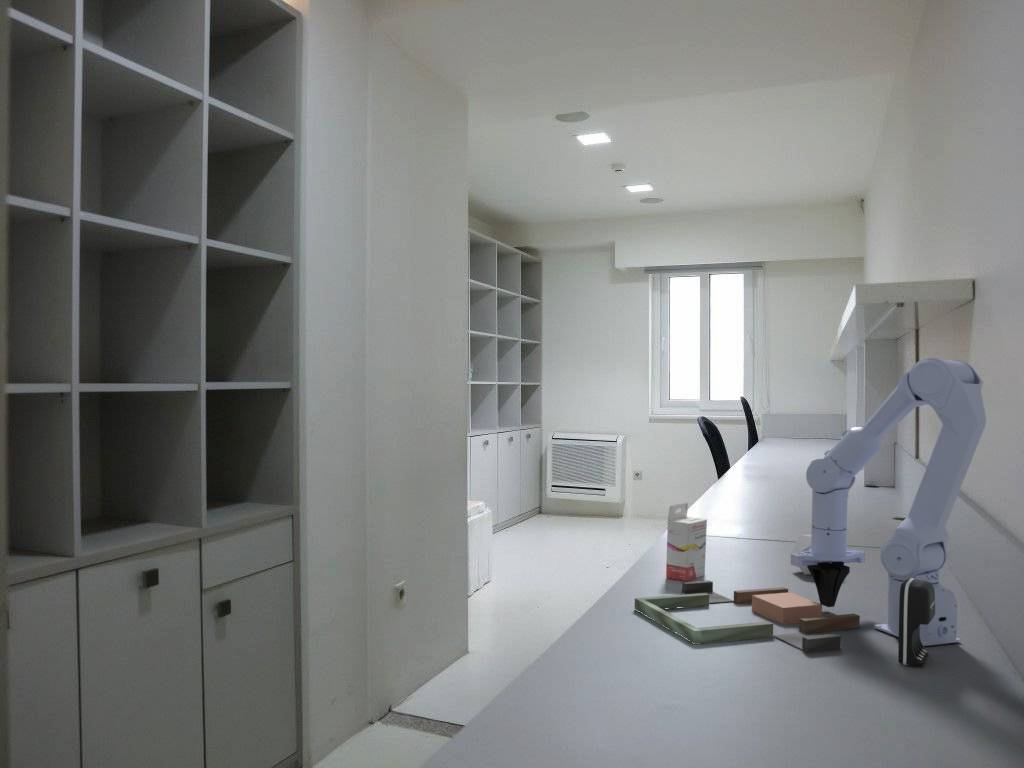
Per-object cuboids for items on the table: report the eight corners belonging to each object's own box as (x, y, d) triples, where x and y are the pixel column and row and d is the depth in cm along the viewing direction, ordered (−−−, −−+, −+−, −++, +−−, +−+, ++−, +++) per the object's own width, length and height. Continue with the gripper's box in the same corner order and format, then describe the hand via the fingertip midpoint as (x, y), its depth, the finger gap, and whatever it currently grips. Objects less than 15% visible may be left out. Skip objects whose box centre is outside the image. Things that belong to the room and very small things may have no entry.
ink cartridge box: (687, 582, 150) (689, 508, 151) (665, 578, 154) (667, 505, 154) (706, 575, 157) (708, 504, 157) (684, 571, 160) (686, 501, 160)
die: (832, 584, 155) (852, 543, 158) (793, 560, 157) (813, 519, 160) (816, 589, 163) (835, 549, 166) (778, 566, 164) (798, 527, 168)
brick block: (821, 622, 127) (822, 604, 127) (782, 626, 124) (783, 607, 125) (789, 609, 135) (789, 592, 135) (751, 612, 132) (752, 595, 132)
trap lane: (897, 643, 116) (898, 630, 116) (725, 662, 106) (725, 647, 106) (757, 587, 148) (757, 577, 148) (613, 597, 138) (614, 586, 138)
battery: (927, 671, 104) (929, 588, 104) (897, 665, 106) (899, 583, 106) (935, 658, 110) (937, 579, 110) (906, 652, 112) (908, 575, 112)
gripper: (845, 522, 139) (843, 596, 139) (779, 525, 134) (777, 601, 134) (875, 529, 132) (873, 607, 132) (807, 532, 127) (805, 613, 127)
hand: (827, 605), depth 133 cm, fingers closed
